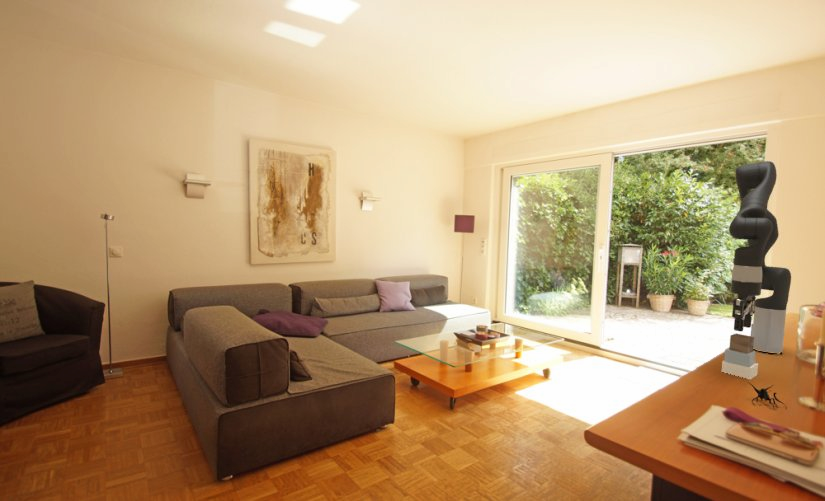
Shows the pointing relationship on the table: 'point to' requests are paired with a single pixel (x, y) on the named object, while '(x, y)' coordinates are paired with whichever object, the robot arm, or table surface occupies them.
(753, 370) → the base block
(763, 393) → the creature
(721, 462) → the table surface
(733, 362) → the grey rectangular block
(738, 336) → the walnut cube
